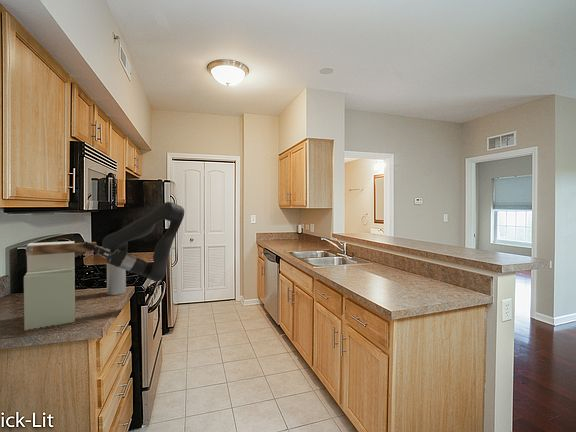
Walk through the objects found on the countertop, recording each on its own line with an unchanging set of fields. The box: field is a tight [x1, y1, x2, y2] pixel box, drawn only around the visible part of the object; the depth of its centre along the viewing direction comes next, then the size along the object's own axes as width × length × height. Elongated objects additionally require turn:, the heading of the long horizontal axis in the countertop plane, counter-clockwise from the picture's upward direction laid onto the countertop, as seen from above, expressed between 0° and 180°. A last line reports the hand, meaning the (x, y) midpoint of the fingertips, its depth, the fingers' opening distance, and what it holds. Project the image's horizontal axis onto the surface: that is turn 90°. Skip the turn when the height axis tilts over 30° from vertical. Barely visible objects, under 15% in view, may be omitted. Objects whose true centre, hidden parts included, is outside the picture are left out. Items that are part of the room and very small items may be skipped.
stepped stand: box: [23, 240, 76, 331], centre depth 130 cm, size 20×16×32 cm
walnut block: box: [25, 241, 97, 257], centre depth 128 cm, size 24×4×4 cm, turn 125°
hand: (84, 243), depth 132 cm, fingers closed on walnut block, 3 cm apart
